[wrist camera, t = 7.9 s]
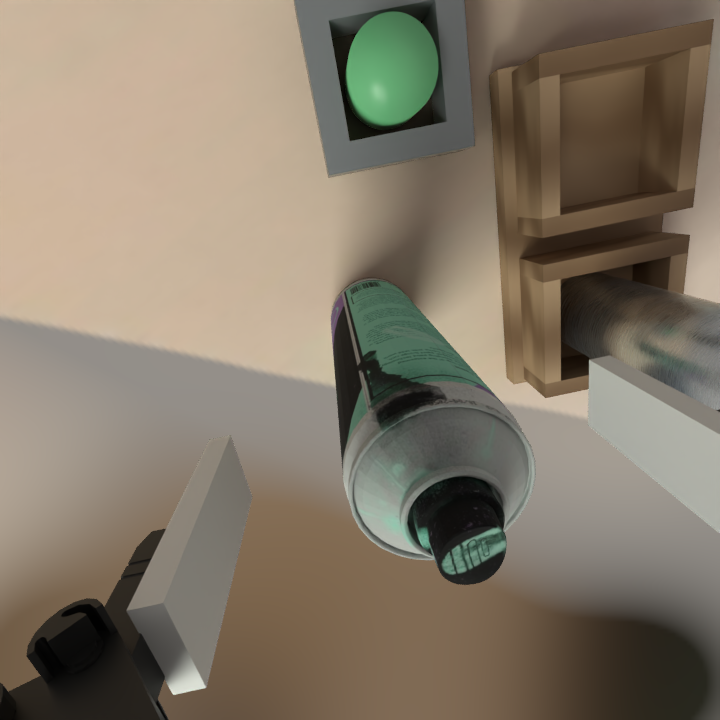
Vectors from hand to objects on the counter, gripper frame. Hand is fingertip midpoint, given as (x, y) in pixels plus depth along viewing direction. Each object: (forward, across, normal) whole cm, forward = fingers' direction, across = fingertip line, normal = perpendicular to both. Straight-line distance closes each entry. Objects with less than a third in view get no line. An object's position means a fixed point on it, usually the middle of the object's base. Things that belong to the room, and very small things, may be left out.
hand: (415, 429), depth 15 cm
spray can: (+14, 0, 0) cm, 14 cm away
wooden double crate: (+14, +14, +4) cm, 20 cm away
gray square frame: (+14, +3, +14) cm, 19 cm away
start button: (+13, +3, +14) cm, 19 cm away
